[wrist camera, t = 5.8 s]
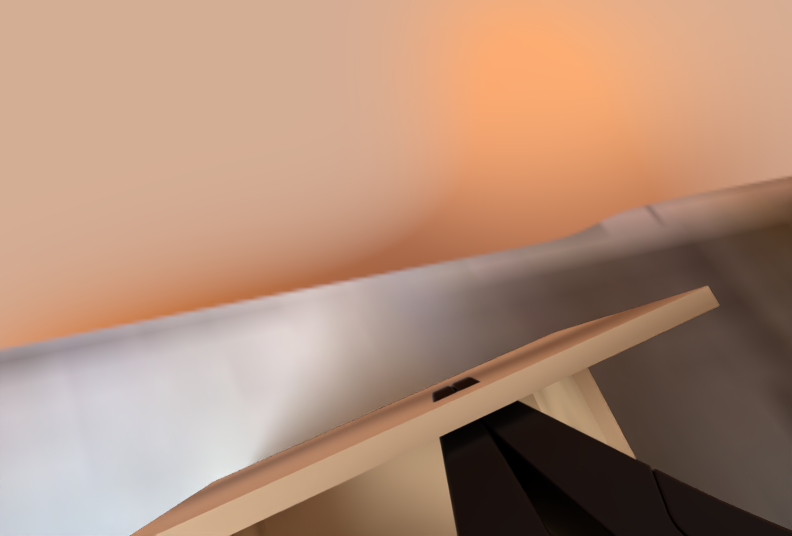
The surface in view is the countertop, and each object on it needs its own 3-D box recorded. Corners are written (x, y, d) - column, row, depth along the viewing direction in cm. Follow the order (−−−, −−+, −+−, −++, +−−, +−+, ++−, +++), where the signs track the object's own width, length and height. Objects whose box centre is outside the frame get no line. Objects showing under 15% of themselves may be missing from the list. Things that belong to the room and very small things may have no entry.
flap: (719, 305, 8) (707, 285, 8) (79, 605, 5) (72, 572, 5) (559, 344, 13) (553, 332, 13) (217, 496, 11) (213, 481, 11)
